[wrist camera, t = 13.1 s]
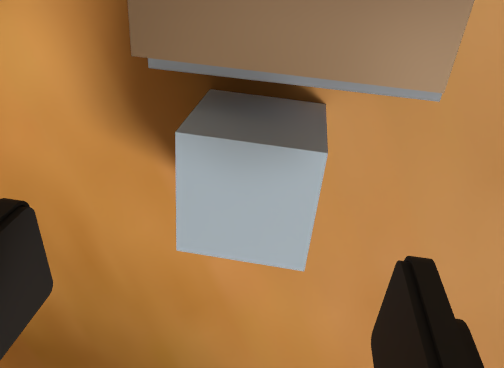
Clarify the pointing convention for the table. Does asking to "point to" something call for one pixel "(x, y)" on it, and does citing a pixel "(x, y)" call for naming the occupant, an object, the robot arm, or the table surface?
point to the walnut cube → (308, 37)
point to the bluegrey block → (250, 177)
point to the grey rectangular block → (291, 79)
